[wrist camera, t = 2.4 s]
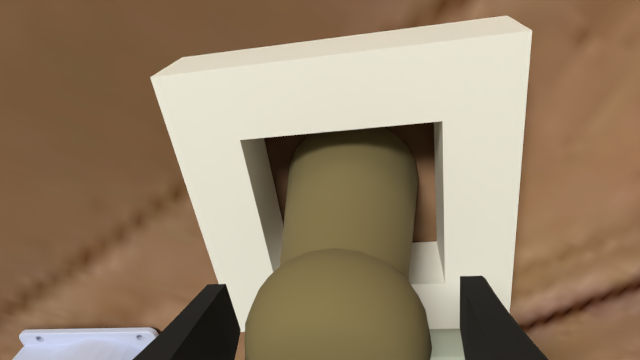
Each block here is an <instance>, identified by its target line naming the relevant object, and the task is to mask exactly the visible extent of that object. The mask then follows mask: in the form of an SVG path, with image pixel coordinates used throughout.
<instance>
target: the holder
mask: <svg viewBox="0 0 640 360" xmlns="http://www.w3.org/2000/svg"><path fill="white" fill-rule="evenodd" d="M531 37H532V30H530V29H529V28H527V27H525V26H524V25H522V24H520V23H519V22H517V21H515V20H514V19H512V18H510V17H509V16H500V17H492V18H484V19H477V20H469V21H461V22H453V23H446V24H438V25H430V26H422V27H415V28H407V29H399V30H391V31H384V32H376V33H368V34H360V35H353V36H345V37H337V38H329V39H322V40H314V41H306V42H298V43H291V44H283V45H275V46H267V47H260V48H252V49H244V50H236V51H229V52H221V53H213V54H205V55H198V56H190V57H182V58H181V59H179V60H177V61H176V62H174V63H173V64H171V65H169V66H168V67H166V68H164V69H163V70H161V71H160V72H158V73H156V74H155V75H153V76H152V77H150V78H151V81H152V84H153V87H154V90H155V93H156V96H157V99H158V102H159V105H160V108H161V111H162V114H163V117H164V120H165V123H166V126H167V129H168V132H169V135H170V138H171V141H172V144H173V147H174V150H175V153H176V156H177V160H178V163H179V166H180V169H181V172H182V175H183V178H184V181H185V184H186V187H187V190H188V193H189V196H190V199H191V202H192V205H193V208H194V211H195V214H196V217H197V220H198V223H199V226H200V229H201V232H202V235H203V238H204V241H205V244H206V247H207V250H208V253H209V256H210V259H211V262H212V265H213V268H214V271H215V274H216V277H217V280H218V283H219V284H226V286H227V289H228V292H229V295H230V298H231V302H232V305H233V308H234V311H235V314H236V317H237V320H238V323H239V326H240V329H241V331H240V332H245V322H246V320H247V317H248V314H249V311H250V309H251V306H252V304H253V302H254V299H255V297H256V295H257V293H258V290H259V288H260V287H261V286H262V285H263V283H264V282H265V281H266V279H267V278H268V277H269V276H270V275H271V274H272V273H273V272H274V271H275V270H276V269H277V268H278V267H280V258H281V248H282V237H283V227H284V225H283V221H282V216H281V212H280V207H279V203H278V198H277V194H276V189H275V185H274V180H273V176H272V171H271V167H270V162H269V158H268V153H267V149H266V145H265V140H264V138H267V137H278V136H289V135H300V134H310V133H321V132H332V131H343V130H354V129H364V128H375V127H386V126H397V125H407V124H418V123H429V122H434V155H435V196H436V237H437V241H435V242H414V243H412V249H411V259H410V270H409V280H408V281H409V283H410V284H411V286H412V287H413V289H414V290H415V292H416V293H417V294H418V296H419V298H420V300H421V302H422V304H423V306H424V308H425V310H426V315H427V321H428V326H429V329H460V276H483V277H484V278H486V280H487V282H488V283H489V285H490V286H491V288H492V289H493V291H494V292H495V294H496V295H497V297H498V298H499V300H500V301H501V303H502V304H503V305H504V307H505V308H506V309H507V311H508V312H509V313H510V301H511V289H512V276H513V264H514V251H515V238H516V226H517V213H518V201H519V188H520V176H521V163H522V150H523V138H524V125H525V113H526V100H527V87H528V75H529V62H530V50H531Z"/></svg>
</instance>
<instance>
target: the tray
mask: <svg viewBox="0 0 640 360" xmlns="http://www.w3.org/2000/svg"><path fill="white" fill-rule="evenodd" d="M429 331H430V337H431V344H432V352H431V358H430V360H465V356H464V351H463V345H462V338H461V332H460V329H429Z"/></svg>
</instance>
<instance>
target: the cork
mask: <svg viewBox="0 0 640 360" xmlns="http://www.w3.org/2000/svg"><path fill="white" fill-rule="evenodd" d="M418 179H419V178H418V172H417V166H416V161H415V159H414V157H413V155H412V153H411V152H410V150H409V148H408V147H407V145H406V143H405V142H403V141H402V140H401V139H400V138H399V137H398V136H396V135H395V134H394V133H393V132H392V131H391V130H389V129H387V128H384V127H375V128H364V129H354V130H343V131H332V132H321V133H310V134H309V135H308V136H307V137H306V138H305V139H304V140H303V141H302V142H301V143H300V144H299V146H298V147H297V148H296V150H295V153H294V155H293V158H292V160H291V162H290V166H289V176H288V186H287V196H286V207H285V217H284V227H283V237H282V248H281V258H280V267H278V268H277V269H276V270H275V271H274V272H273V273H272V274H271V275H270V276H269V277H268V278H267V279H266V281H265V282H264V283H263V285H262V286H261V287H260V288H259V290H258V293H257V295H256V297H255V299H254V302H253V304H252V306H251V309H250V311H249V314H248V317H247V320H246V322H245V360H430V358H431V352H432V344H431V337H430V331H429V326H428V321H427V315H426V310H425V308H424V306H423V304H422V302H421V300H420V298H419V296H418V294H417V293H416V292H415V290H414V289H413V287H412V286H411V284H410V283H409V281H408V280H409V270H410V259H411V249H412V239H413V229H414V219H415V209H416V199H417V189H418Z"/></svg>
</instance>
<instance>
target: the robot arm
mask: <svg viewBox="0 0 640 360" xmlns="http://www.w3.org/2000/svg"><path fill="white" fill-rule="evenodd" d="M240 331H241V329H240V326H239V323H238V320H237V317H236V314H235V311H234V308H233V305H232V302H231V298H230V295H229V292H228V289H227V286H226V284H210V285H207V286H206V287H205V288H204V289H203V290H202V291H201V292H200V293H199V294H198V295H197V296H196V297H195V298H194V299H193V300H192V301H191V302H190V304H189V305H188V306H187V307H186V308H185V309H184V310H183V311H182V312H181V313H180V314H179V315H178V316H177V317H176V318H175V319H174V320H173V321H172V322H171V323H170V324H169V325H168V326H167V327H166V328H165V329H164V330H163V331H162V332H161V333H160V334H158V332H157V331H156V330H155V329H153V328H149V327H145V328H90V329H35V330H24V331H23V332H22V333H21V334H20V335H19V338H20V340H21V342H22V343H23V345H24V347H23V348H22V349H21V350H20V351H19V353H18V354H17V355H16V356H15V357H14V358H13V359H12V360H234V359H235V354H236V350H237V345H238V340H239V335H240ZM460 332H461V338H462V345H463V351H464V356H465V360H548V359H547V357H546V356H545V355H544V354H543V353H542V352H541V351H540V350H539V349H538V347H537V346H536V345H535V344H534V343H533V342H532V341H531V339H530V338H529V337H528V336H527V335H526V333H525V332H524V331H523V330H522V328H521V327H520V326H519V325H518V324H517V322H516V321H515V320H514V319H513V317H512V316H511V315H510V313H509V312H508V311H507V309H506V308H505V307H504V305H503V304H502V303H501V301H500V300H499V298H498V297H497V295H496V294H495V292H494V291H493V289H492V288H491V286H490V285H489V283H488V282H487V280H486V278H484V277H483V276H460Z"/></svg>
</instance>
